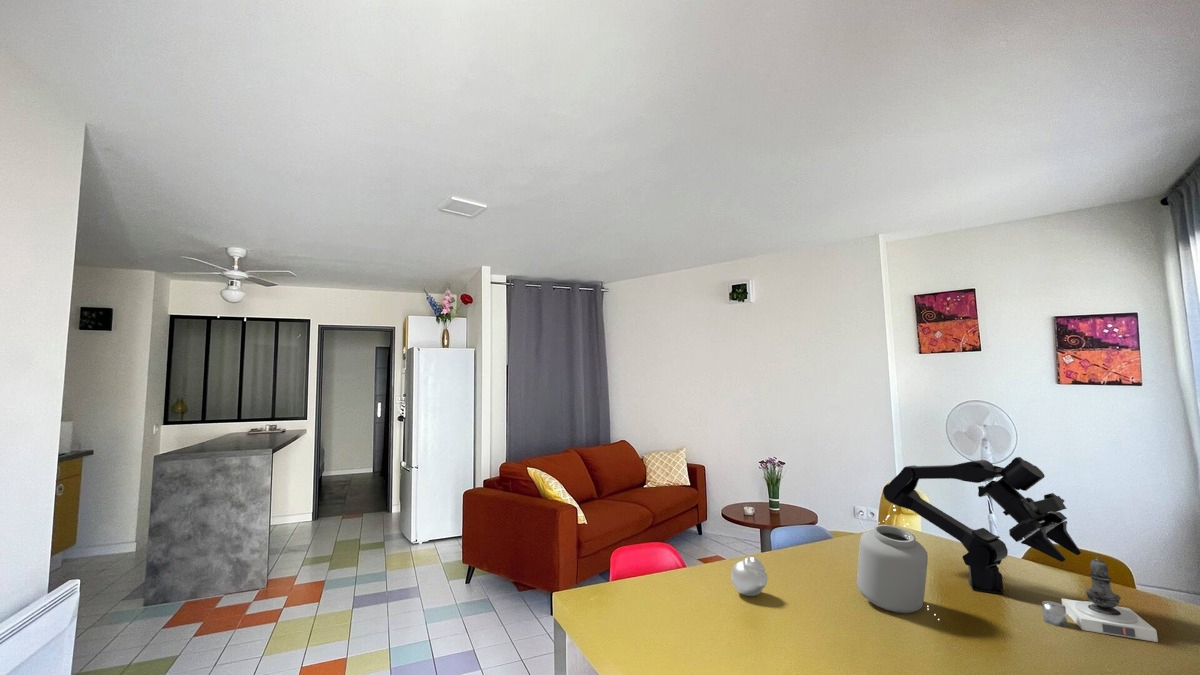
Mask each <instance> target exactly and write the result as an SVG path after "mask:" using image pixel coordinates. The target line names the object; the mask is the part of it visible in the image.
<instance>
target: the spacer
mask: <svg viewBox="0 0 1200 675" xmlns="http://www.w3.org/2000/svg"><path fill="white" fill-rule="evenodd" d="M1041 604H1042V613H1043V615H1042V616H1043V621H1044V622H1045V623H1047V624H1049V625H1052V626H1055V627H1061V628H1063V627H1064V628H1066V627H1068V619H1067V618H1068V617H1067V613H1066V608H1065V606H1064V605H1062V603H1059V602H1057V601H1051V600H1043V601H1042V602H1041Z"/></svg>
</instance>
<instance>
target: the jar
mask: <svg viewBox="0 0 1200 675" xmlns="http://www.w3.org/2000/svg"><path fill="white" fill-rule="evenodd" d="M892 507H894V509H893V512H896V511H897V509H896V505H893V506H892ZM889 517H890V514H888V515H887V516H886V518H885V521H887V520H888V519H889ZM902 520H903V521H905V518H904V519H902ZM885 521H884V520H883V521H882V522H883V523H884V522H885ZM906 525H907V526H908V525H909V523H906ZM906 525H903V527H904V528H906ZM915 536H916V535H914V534H913V533H912V532H910V531H908V530H906V529H903V528H901V527H898V526H895V525H888V524H880V522H878V525H875V526H874V528H873V529H871V530H866V531H864V532H863V533H862V534H861V536H860V540H859V547H858V548H859V549H858V560H857V571H856V573H857V574H856V588H857V589H858V590H859V593H860V594H861V595H862V596H863V597H864V598H865V599H866V600H868V601H869V602H871V603H872V604H874V606H877V607H878V608H879V607H880V609H883V610H886V611H888V612H889V611H890V612H893V613H900V614H907V613H908V614H910V613H915V612H917V611H920V609H921V608H922V607H923V605H924V600H925V591H926V582H927V570H928V559H929V557H928V556H929V555H928V551H927V550H926V548H925V547H924V546H923V545H922V544H921V543H920V542H919V541H918V540H917V539H916V537H915ZM926 607H927V611H929V610H930V608H929V605H927V606H926ZM934 616H936V613H934ZM937 620H938V621H940V618H938V619H937Z"/></svg>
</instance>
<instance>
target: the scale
mask: <svg viewBox="0 0 1200 675" xmlns="http://www.w3.org/2000/svg"><path fill="white" fill-rule="evenodd" d="M1061 604H1062V605H1064V606H1065V608H1066V615H1068V616H1069V617H1070V619H1072V621H1073V622H1074V623H1075V624H1076V626H1078V627H1079V629H1081V631H1087V632H1091V633H1092V632H1093V633H1098V634H1106V635H1112V636H1117V637H1123V638H1129V639H1137V640H1142V641H1148V642H1153V643H1154V642H1155V643H1158V642H1159V641H1158V634H1157V629H1155V628H1154V627H1153V626H1152V625H1151V624H1149V623H1148V622H1147V621H1145V620H1144V619H1143V618H1142V617H1141V616H1140V615H1138V614H1137V613H1136V612H1135V611H1133V610H1132V609H1131V608H1130V607H1122V606H1118V605H1117V606H1116V607H1114V608H1115V609H1116V610H1118V611H1119V612H1120V613H1121V615H1116V616H1115V615H1107V614H1102V613H1098V612H1096V611H1093V610H1091V609H1089V608H1088V606H1089V605H1091V604H1094V603H1093V602H1091V601H1090V600H1089V601H1086V600H1083V601H1082V600H1075V599H1074V600H1073V599H1067V598H1061Z"/></svg>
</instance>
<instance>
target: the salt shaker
mask: <svg viewBox="0 0 1200 675" xmlns="http://www.w3.org/2000/svg"><path fill="white" fill-rule="evenodd" d="M1095 558H1096V559H1091V560H1090V561H1089V566H1090V573H1089V574H1088V576H1089V577H1090V578H1091V588H1086V589H1084V592H1085V594H1086V597H1087V598H1088V600H1089V602H1093V603H1094V604H1091V605H1089V606H1088V608H1089V609H1091V610H1093V611H1096V612H1098V613H1102V614H1107V615H1115V616H1116V615H1121V613H1120V612H1119V611H1118V610H1116V609H1115V608H1114V607H1116V606H1117V607H1118V606H1119V604H1120V600H1121V596H1120V595H1118V594H1117V593H1114V592H1113V590H1112V587H1111V581H1112V577H1110V576H1109V575H1110V574H1109V567H1108V564H1107V563H1106V562H1105V561H1103V560H1101V559H1100V557H1099V555H1097V556H1096V557H1095Z"/></svg>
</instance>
